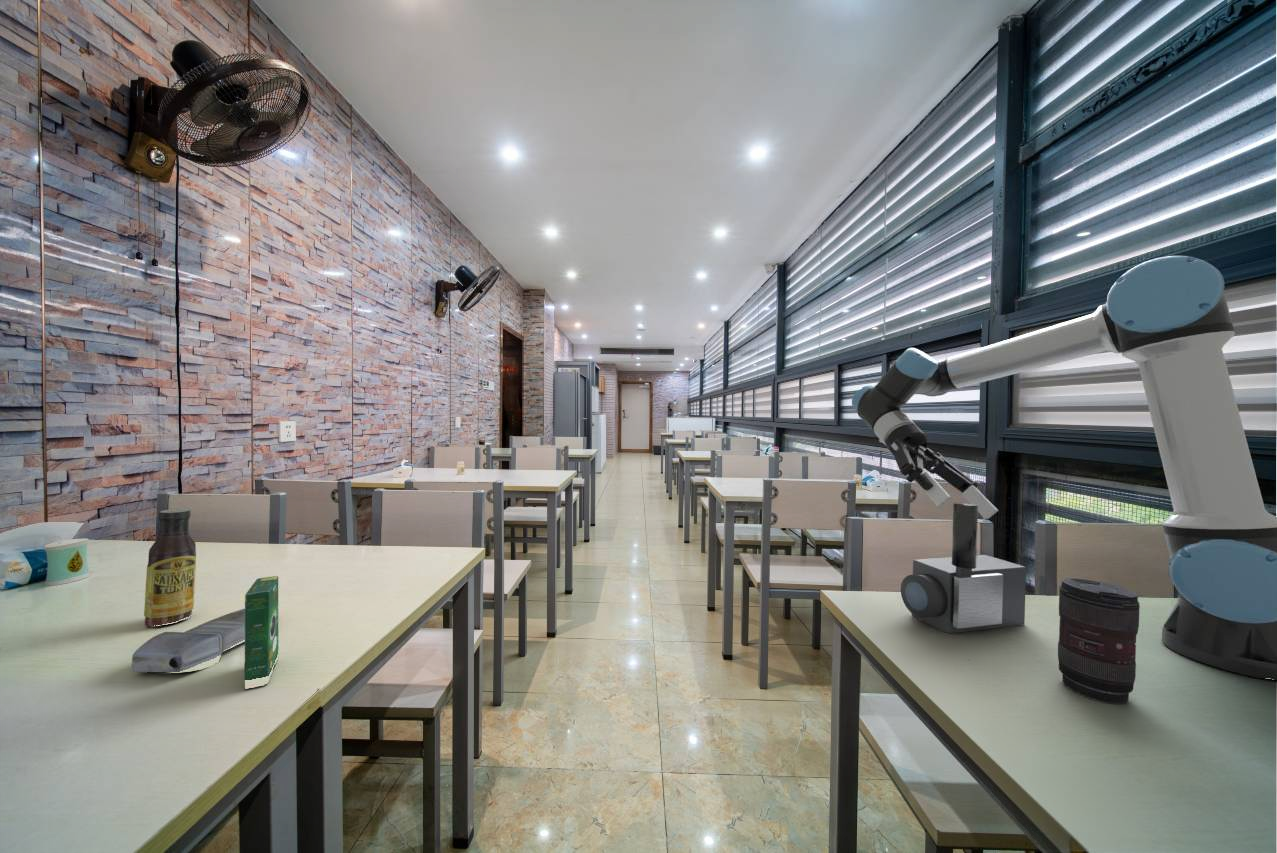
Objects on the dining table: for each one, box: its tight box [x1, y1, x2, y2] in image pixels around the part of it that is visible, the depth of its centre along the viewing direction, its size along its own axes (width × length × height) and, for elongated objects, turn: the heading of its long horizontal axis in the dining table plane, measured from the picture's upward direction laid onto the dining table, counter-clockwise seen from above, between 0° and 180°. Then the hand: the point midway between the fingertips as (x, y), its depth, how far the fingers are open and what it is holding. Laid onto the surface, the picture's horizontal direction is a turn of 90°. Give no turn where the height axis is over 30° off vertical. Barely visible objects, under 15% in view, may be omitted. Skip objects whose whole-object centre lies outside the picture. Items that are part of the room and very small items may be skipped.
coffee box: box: [243, 575, 279, 680], centre depth 66 cm, size 8×3×13 cm, turn 30°
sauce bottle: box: [143, 508, 197, 627], centre depth 82 cm, size 6×6×20 cm
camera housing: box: [900, 554, 1027, 634], centre depth 88 cm, size 21×8×11 cm, turn 104°
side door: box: [951, 502, 1003, 629], centre depth 83 cm, size 10×4×22 cm, turn 104°
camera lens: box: [1057, 577, 1141, 705], centre depth 66 cm, size 8×8×15 cm
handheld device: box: [131, 608, 245, 673], centre depth 74 cm, size 10×20×5 cm, turn 178°
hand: (968, 508), depth 85 cm, fingers open, 13 cm apart
